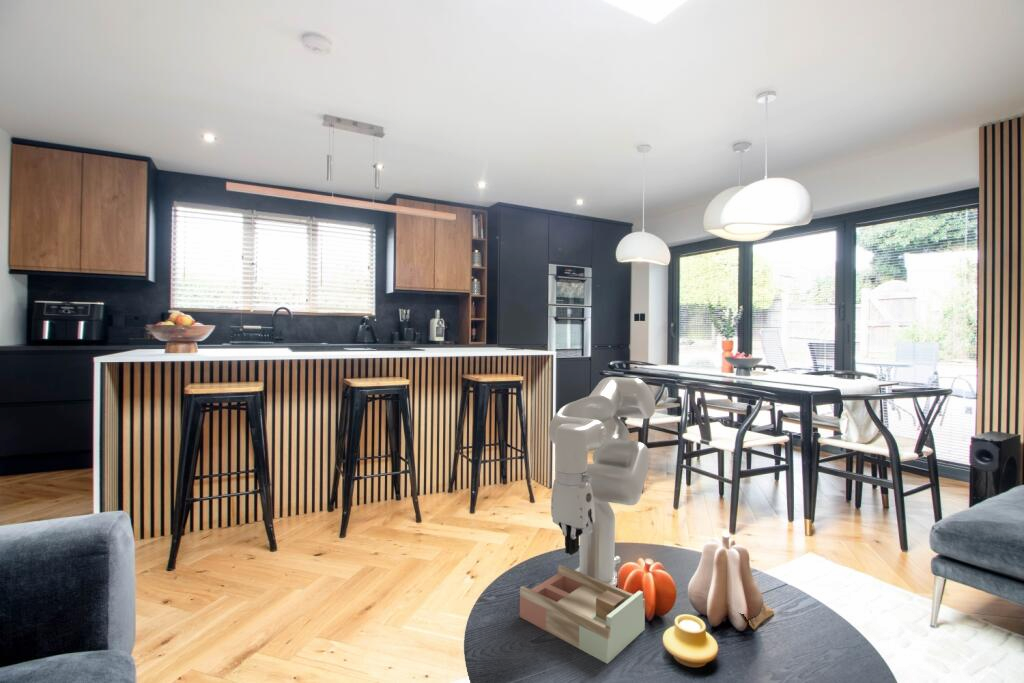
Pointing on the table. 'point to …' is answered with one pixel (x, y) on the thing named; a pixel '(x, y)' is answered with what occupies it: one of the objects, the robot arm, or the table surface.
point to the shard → (761, 617)
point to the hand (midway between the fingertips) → (572, 551)
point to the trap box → (583, 613)
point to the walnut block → (607, 604)
